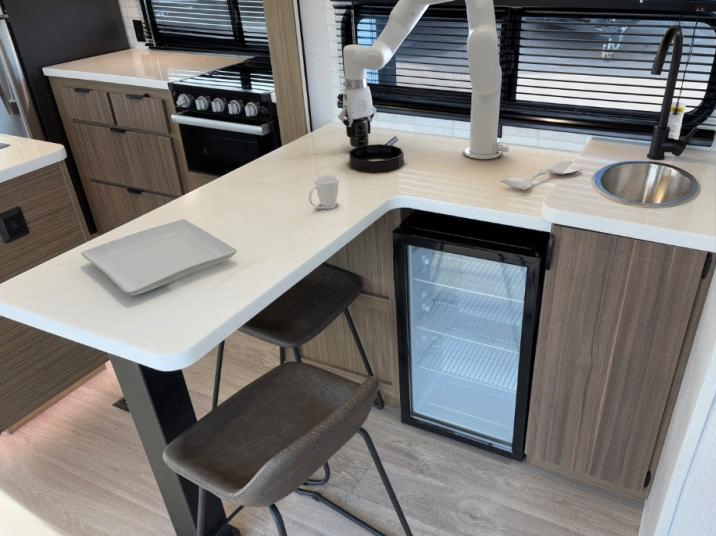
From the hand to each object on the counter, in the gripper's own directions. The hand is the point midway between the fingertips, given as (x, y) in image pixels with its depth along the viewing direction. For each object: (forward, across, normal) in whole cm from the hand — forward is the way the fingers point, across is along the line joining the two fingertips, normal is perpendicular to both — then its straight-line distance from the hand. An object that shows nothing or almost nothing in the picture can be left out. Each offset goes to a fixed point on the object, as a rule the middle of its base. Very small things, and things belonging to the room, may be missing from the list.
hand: (358, 134), depth 217 cm
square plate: (+6, -89, -40) cm, 98 cm away
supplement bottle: (+4, 0, 0) cm, 4 cm away
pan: (+5, -1, -14) cm, 15 cm away
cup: (+6, -40, -37) cm, 55 cm away
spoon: (+6, +24, -65) cm, 70 cm away
